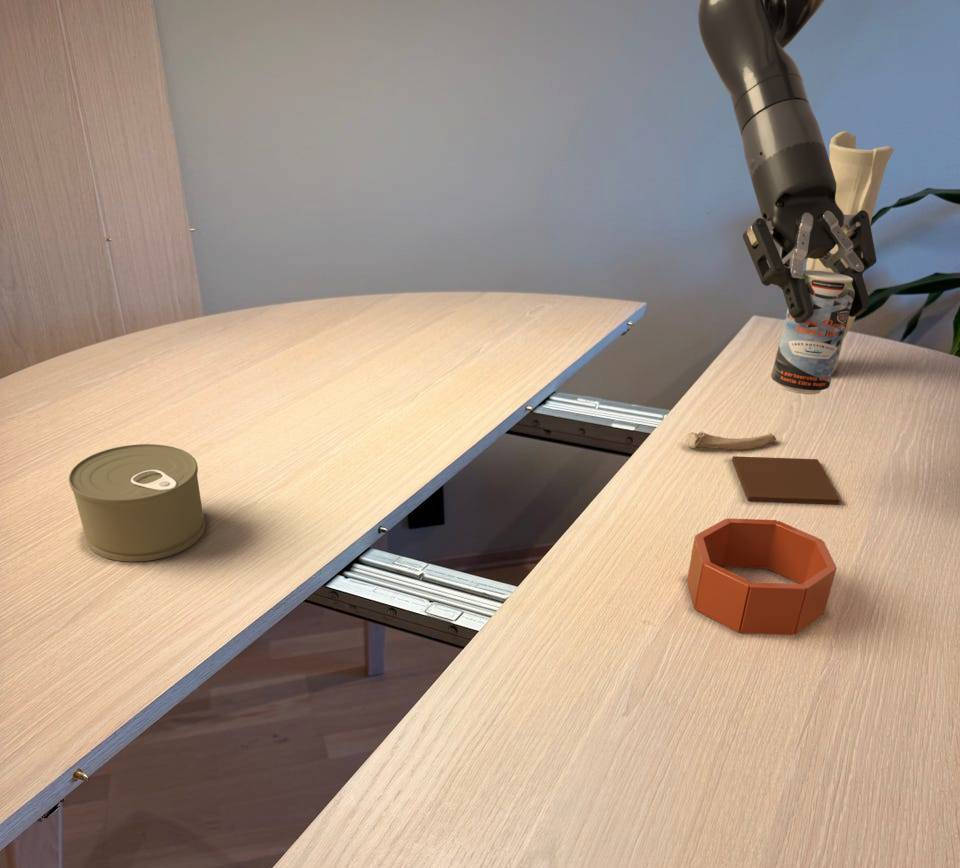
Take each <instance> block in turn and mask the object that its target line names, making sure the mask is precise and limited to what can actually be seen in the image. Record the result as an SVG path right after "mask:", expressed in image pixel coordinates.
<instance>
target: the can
mask: <svg viewBox="0 0 960 868" xmlns="http://www.w3.org/2000/svg"><path fill="white" fill-rule="evenodd" d="M198 471H199V467H198V462H197V460H196V458H195V457H194V455H192V454H190V453H189V452H188V451H186V450H184V449H181V448H178V447H174V446H170V445H165V444H154V443H141V444H140V443H139V444H129V445H122V446H121V445H120V446H117V447H113V448H112V447H111V448H108V449H105V450H101V451H99V452H97V453H94V454H91V455H90V456H87V457H86V458H84V459H82V460H81V461H79V462H78V463H77V464H75V466H74V467H73V468H72V469H71V471H70V473H69V474H68V482H69V483H68V484H69V486H70V489H71V490H72V492H73V496H74V499H75V502H76V507H77V510H78V515H79V518H80V522H81V526H82V530H83V533H84V538H85V542H86V544H87V547H88V548H89V549H90V551H92V552H93V553H95V554H96V555H97V556H99V557H102V558H105V559H108V560H112V561H118V562H131V563H132V562H134V563H135V562H148V561H154V560H160V559H163V558H168V557H171V556H174V555H176V554H179V553H181V552H183V551H185V550H186V549H189V548H190V547H192V546H193V545H194V544H195V543H197V542H198V541H199V540H200V538H201V537H202V536H203V534H204V532H205V530H206V529H205V528H206V522H205V518H204V512H203V504H202V498H201V493H200V492H201V491H200V486H199V485H200V483H199V478H198Z"/></svg>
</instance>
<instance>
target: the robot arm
mask: <svg viewBox="0 0 960 868" xmlns="http://www.w3.org/2000/svg"><path fill="white" fill-rule="evenodd" d="M825 2H826V0H699V5H698V13H697V21H698V22H697V23H698V30H699V34H700V38H701V41H702V44H703V46H704V48H705V51H706V53H707V55H708V57H709V59H710V61H711V63H712V65H713V68H714V69H715V71H716V74H717V75H718V77H719V79H720V81H721V82H722V84H723V86H724V88H725V89H726V91H727V93H728V95H729V98H730V100H731V103H732V107H733V112H734V115H735V120H736V123H737V125H738V129H739V130H738V131H739V132H740V136H741V140H742V145H743V154H744V157H745V158H744V159H745V163H746V166H747V169H748V174H749V177H750V180H751V183H752V187H753V190H754V193H755V197H756V201H757V204H758V207H759V212H760V214H761V217H759V218H758V217H757V218H756V219H755V221H753V222H752V224H751V225H750V226H749V227H748V228H747V229H746V230H745V231H744V232H743V233H742V239H743V241H744V244H745V246H746V248H747V251H748V253H749V256H750V258H751V261H752V263H753V266H754V268H755V270H756V272H757V276H758V278H759V280H760V282H761V284H762V285H763V286H765V287H769V286H771V285H774V286H777V287H778V288H779V289H780V290H781V291H782V293H783V297H784V300H785V303H786V307H787V309H788V310H789V314H790V315H791V317H792V318H794V320H795V322H796V323H803V322H805V321H806V320H807V319H809V318H810V317H811V316H812V315H813V312H814V310H813V306H812V303H811V299H810V296H809V293H808V289H807V286H806V282H805V279H800V277H801V276H802V273H803V268H804V262H805V260H806V259H808V258H812V259H819V260H820V261H821V263H822V264H823V265H824V267H825V268H830V269H832V271H833V272H834V273H838V274H842V275H846V276H849V277H851V278H852V279H853V281H852V286H853V288H854V292H855V296H854V299H853V303H852V307H851V310H850V314H849V316H850V317H854V316H856V317H859V316H860V315H862V314H863V313H864V312H865V311H867V310H868V308H869V304H870V296H869V294H868V290H867V285H866V283H865V280H864V279H865V278H864V277H863V274H864V273H865V272H866V271H867V270H868V269H870V268H871V267H873V266H874V265H875V264H876V263H877V261H878V260H877V256H876V248H875V244H874V243H875V242H874V237H873V231H872V226H871V225H870V221H869V215H868V213H867V212H866V211H864V210H861V211H859V212H858V213H857V214H856V215H845V214H843V212H842V211H841V209H840V208H839V207H838V205H837V204H836V201H835V195H836V188H837V185H836V181H835V177H834V174H833V171H832V167H831V164H830V161H829V158H830V156H829V154H828V151H827V148H826V144H825V141H824V138H823V134H822V131H821V127H820V125H819V122H818V119H817V118H816V116H815V114H814V112H813V109H812V107H811V104H810V101H809V98H808V94H807V91H806V88H805V84H804V81H803V80H804V79H803V78H802V74H801V71H800V69H799V67H798V65H797V63H796V62H795V60H794V59H793V58H792V56H791V55H789V53H788V52H787V51H786V50H785V48H786V47H787V46H788V45H789V44H790V43H791V42H792V41H793V40H794V39H795V38H796V36H797V35H798V34H799V33H800V32H801V31H802V29H804V27H805V26H806V25H807V24H808V22H809V21H810V20H811V19H812V18H813V17H814V16H815V15H816V13H817V12H818V11H819V9H820V8H821V7H822V6H823V4H824V3H825ZM776 244H777V245H778V246H779V250H778V248H777V245H776ZM836 244H837V246H838V251H837V252H836V253H835V254H831V253H830V251H831V250H832V249H833V248H834V247H835V245H836ZM861 253H862V255H863V258H862V255H861ZM841 258H842V259H844V261H845V262H846V263H847V265H848V266H849V267H848V268H846V267H845V266H844V264H843V263H842V262H841Z"/></svg>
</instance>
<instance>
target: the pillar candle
mask: <svg viewBox="0 0 960 868" xmlns="http://www.w3.org/2000/svg"><path fill="white" fill-rule="evenodd" d="M893 153H894V148H893V147H892V146H888V145H886V146H881V147H874V148H873V149H858V148H857V136H856V135H855V134H852V133H850V132H849V131H846V130H843V131H839V132H838V133H835V135H833V136H832V137H831V139H830V142H829V161H830V164H831V167H832V171H833V174H834V177H835V181H836V185H837V188H836V195H835V201H836V204H837V205H838V207H839V208H840V209H841V211H842V212H843V214H845V215H856V214H857V213H858V212H859V211H861V210H864V211H866V212H867V213H868V215H869V221H870V226H871V224H872V220H873V216H874V211H875V207H876V204H877V200H878V196H879V192H880V189H881V185H882V183H883V178H884V174H885V171H886V167H887V164H888V162H889V160H890V158H891V156H892V155H893ZM837 251H838V246H837V244H836V245H835V247H834V248H833V249H832V250H831V251H830V253H831V254H835V253H836V252H837ZM861 255H862V253H861ZM862 258H863V255H862ZM841 262H842V263H843V264H844V266H845V267H846V268H848V267H849V266H848V265H847V263H846V262H845V261H844V259H842V258H841ZM805 270H817V271H826V272H832V273H834V272H833V271H832V269H830V268H825V267H824V265H823V264H822V263H821V261H820V260H819V259H812V258H807V260H806V265H805ZM856 317H857V316H854V317H850V316H849V317H848V321H847V325H846V328H845V332H844V335H843V339H842V342H841V346H840V350H839V353H838V357H837V360H836V364H835V368H834V371H833V373H834V372H835V371H836V369H837V367H838V363H839V359H840V355H841V350H842V348H843V347H842V346H843V342H844V339H845V338H846V336H847V334H848V333H849V331H850V330H851V328H852V325H853V324H854V322H855V320H856Z"/></svg>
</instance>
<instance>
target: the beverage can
mask: <svg viewBox="0 0 960 868" xmlns="http://www.w3.org/2000/svg"><path fill="white" fill-rule="evenodd" d="M800 279H805V282H806V286H807V289H808V293H809V296H810V299H811V303H812V306H813V310H814V312H813V315H812V316H811V317H810V318H809V319H807V320H806V321H805V322H803V323H796V322H795V320H794V318H792V317H791V315H790V314H789V310H788V308H787V310H786V314H785V318H784V322H783V326H782V330H781V334H780V339H779V343H778V345H777V350H776V354H775V358H774V363H773V367H772V370H771V374H770V377H771V379H772V380H773V382H776V386H777V387H779V389H781V390H785V391H787V392H791V393H794V394H800V395H818V394H820V393H821V392H822V391H824V390H827V389H829V387H830V385H831V381H832V378H833V375H834V372H835V370H834V368H835V364H836V360H837V357H838V353H839V350H840V346H841V342H842V339H843V335H844V332H845V328H846V325H847V321H848V317H849V314H850V310H851V307H852V303H853V299H854V296H855V292H854V288H853V286H852V281H853V279H852V278H851V277H849V276H846V275H842V274H838V273H832V272H826V271H817V270H806V269H805V270H802V275H801V277H800ZM833 371H834V372H833Z"/></svg>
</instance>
